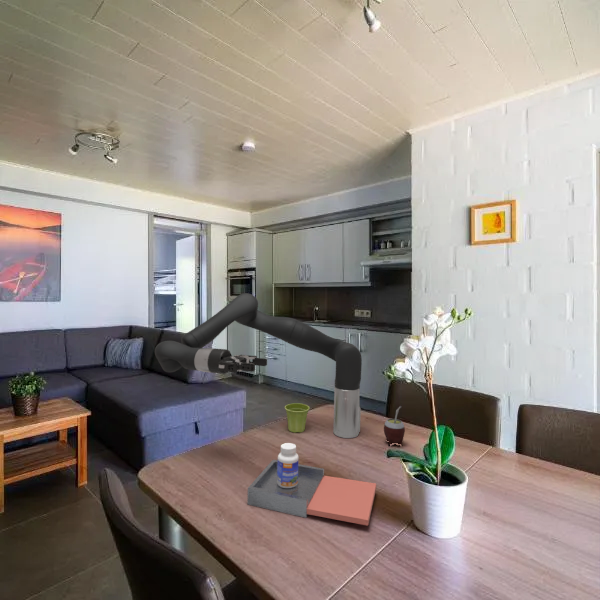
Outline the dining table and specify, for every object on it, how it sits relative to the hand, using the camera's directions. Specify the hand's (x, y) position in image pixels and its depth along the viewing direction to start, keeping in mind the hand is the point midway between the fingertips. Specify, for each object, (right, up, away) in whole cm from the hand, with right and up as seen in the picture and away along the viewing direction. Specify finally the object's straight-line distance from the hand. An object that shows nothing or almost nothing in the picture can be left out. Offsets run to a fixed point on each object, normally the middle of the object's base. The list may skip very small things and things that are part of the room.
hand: (260, 365), depth 106 cm
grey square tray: (+8, -30, -14) cm, 35 cm away
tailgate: (+16, -29, -16) cm, 37 cm away
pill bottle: (+8, -28, -14) cm, 33 cm away
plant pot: (+10, -30, +29) cm, 43 cm away
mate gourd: (+44, -31, +18) cm, 57 cm away
